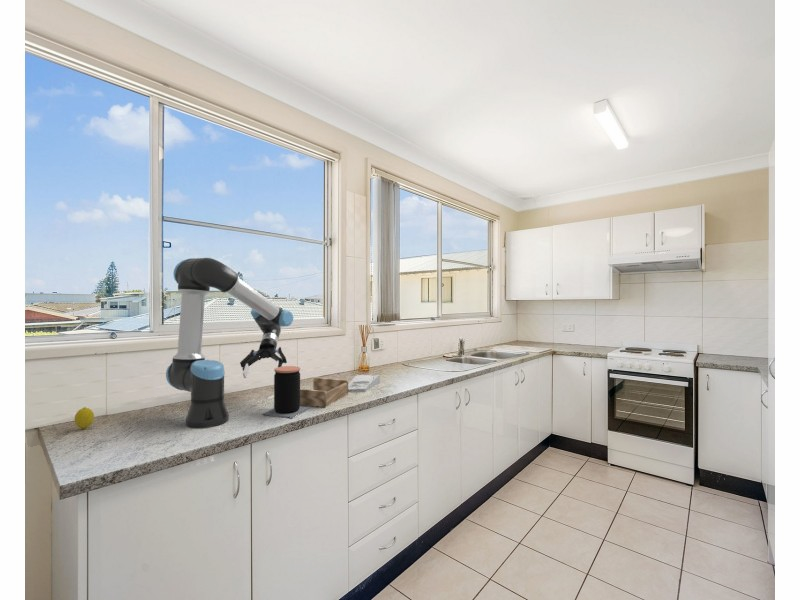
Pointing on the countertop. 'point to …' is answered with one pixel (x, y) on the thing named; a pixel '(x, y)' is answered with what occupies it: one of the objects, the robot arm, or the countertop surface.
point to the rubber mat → (274, 413)
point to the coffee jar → (287, 389)
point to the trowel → (363, 383)
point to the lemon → (84, 418)
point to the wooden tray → (324, 392)
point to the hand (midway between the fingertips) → (260, 374)
